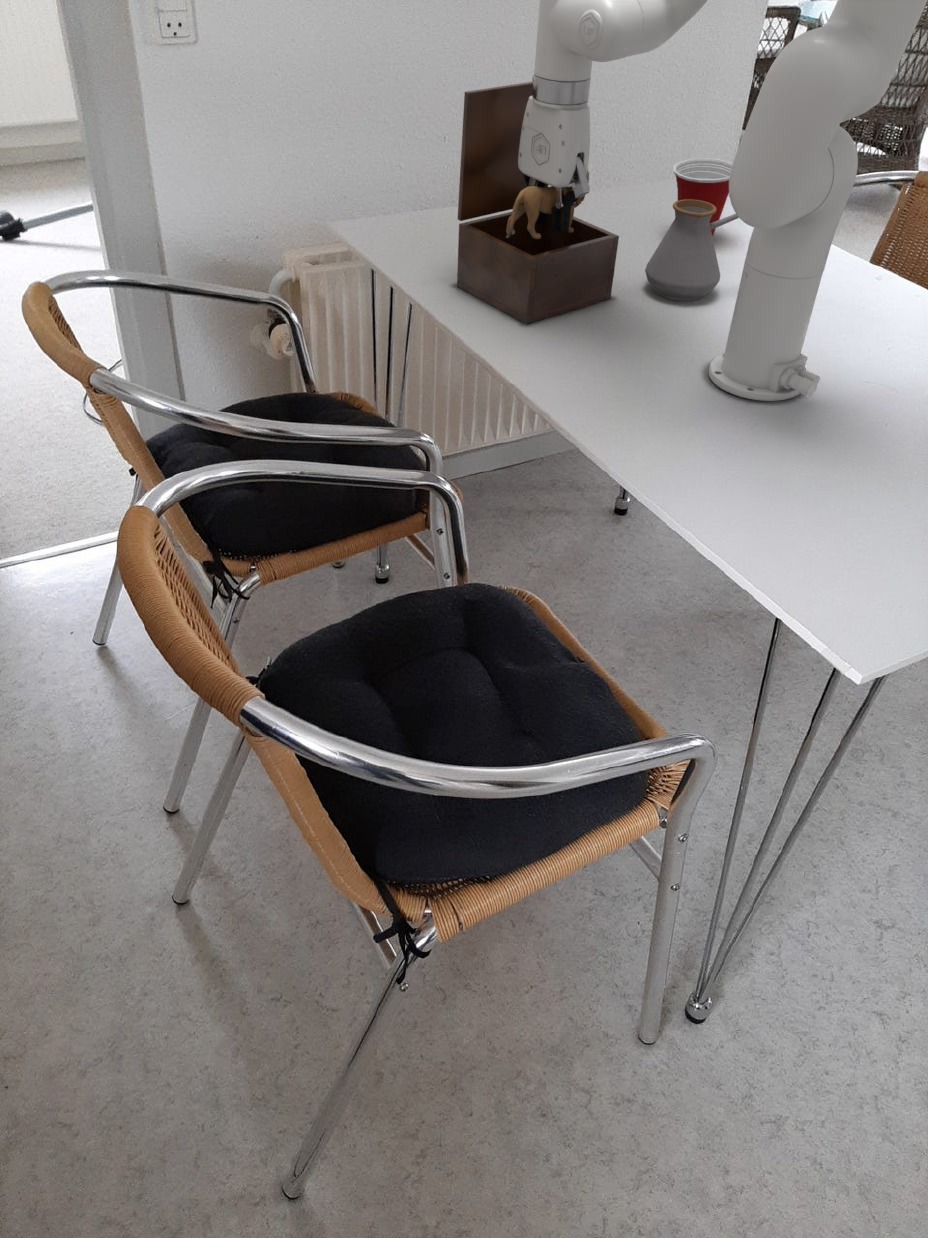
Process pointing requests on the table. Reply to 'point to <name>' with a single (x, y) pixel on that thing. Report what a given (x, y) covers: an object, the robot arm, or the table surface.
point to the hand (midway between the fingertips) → (548, 227)
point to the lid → (491, 149)
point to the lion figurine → (536, 207)
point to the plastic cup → (704, 182)
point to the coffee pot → (687, 253)
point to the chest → (535, 266)
